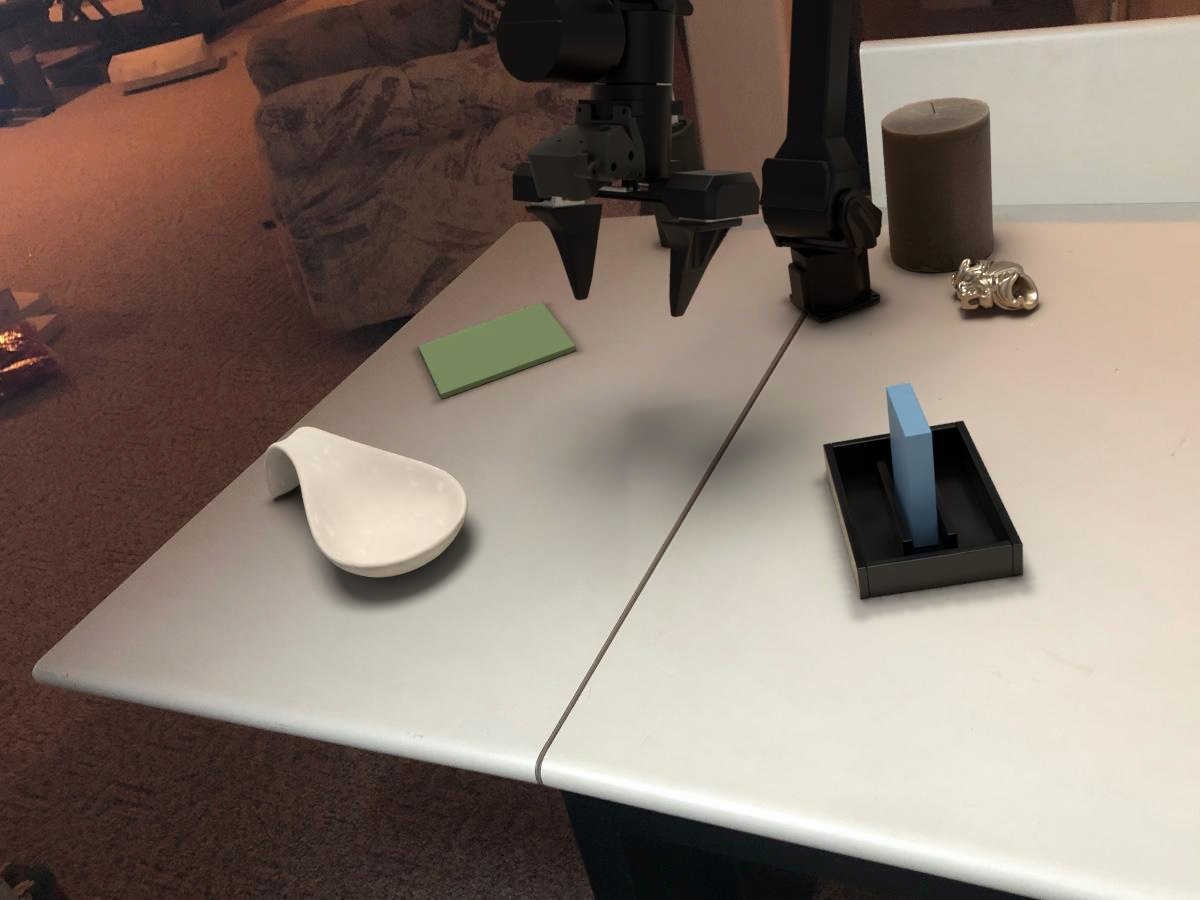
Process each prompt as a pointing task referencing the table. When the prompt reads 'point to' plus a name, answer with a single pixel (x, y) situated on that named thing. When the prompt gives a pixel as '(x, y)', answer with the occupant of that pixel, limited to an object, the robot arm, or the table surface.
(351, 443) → the spoon rest
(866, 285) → the robot arm
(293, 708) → the table surface
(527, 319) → the mat
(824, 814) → the table surface
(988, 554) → the dish rack
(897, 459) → the blue rectangular block
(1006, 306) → the ornament
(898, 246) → the pillar candle
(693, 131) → the candle
